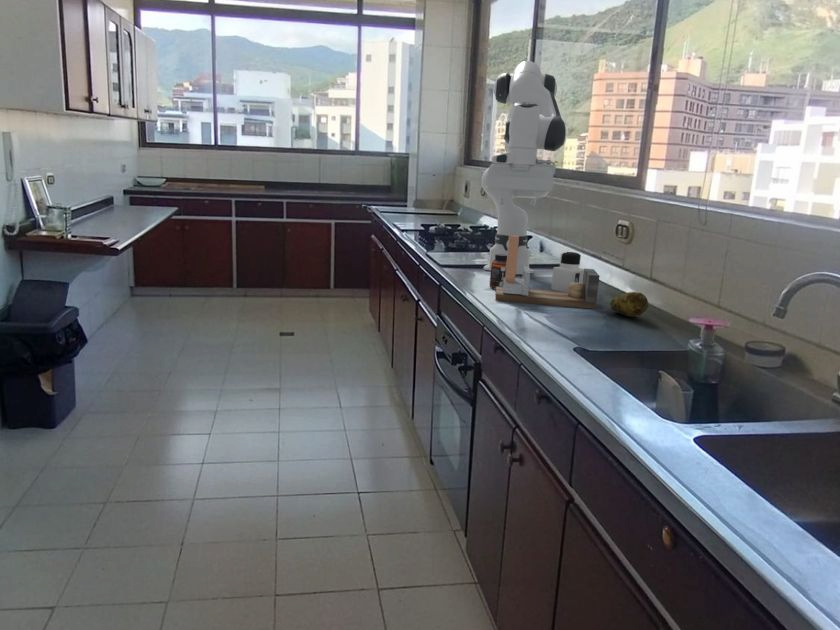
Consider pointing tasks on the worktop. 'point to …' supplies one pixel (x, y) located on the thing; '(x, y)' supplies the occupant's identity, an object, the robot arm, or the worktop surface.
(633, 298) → the potato
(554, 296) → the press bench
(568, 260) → the container
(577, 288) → the beige rounded cylinder
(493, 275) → the supplement bottle
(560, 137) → the robot arm
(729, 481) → the worktop surface
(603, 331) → the worktop surface
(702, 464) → the worktop surface
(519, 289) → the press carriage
